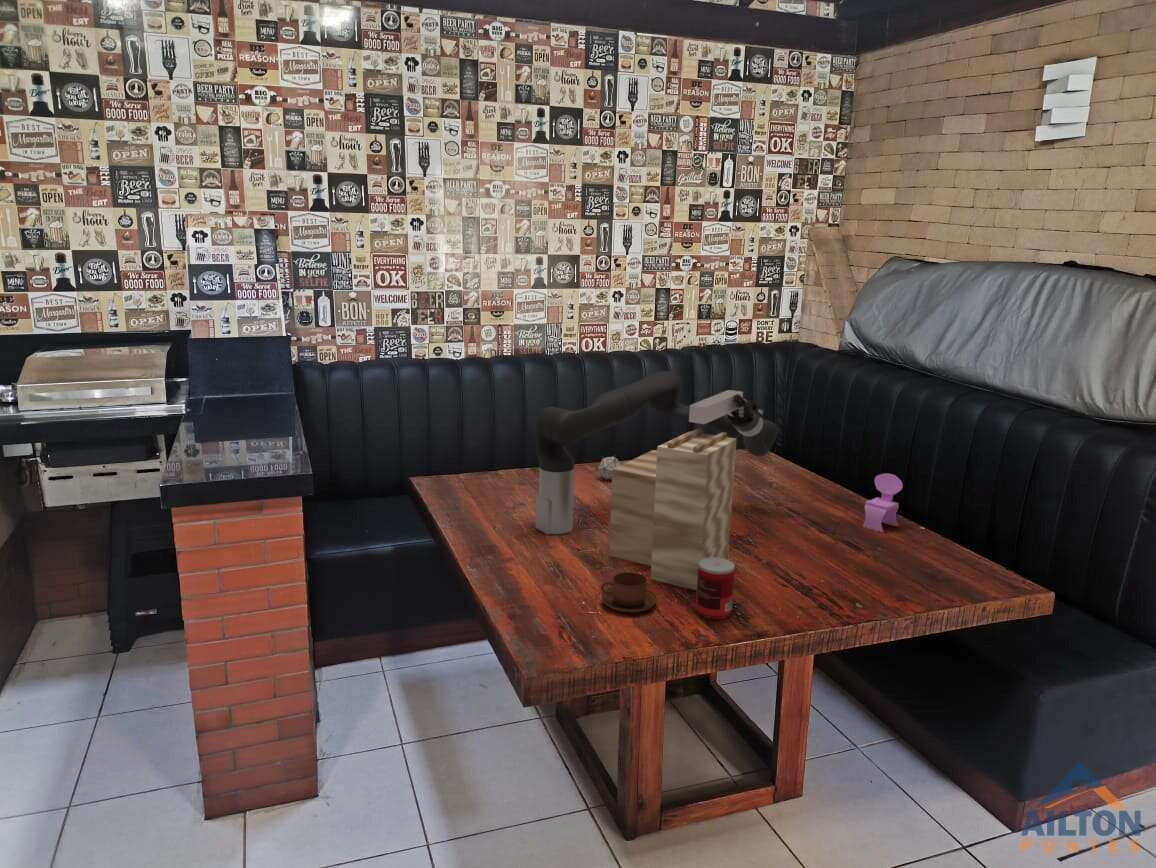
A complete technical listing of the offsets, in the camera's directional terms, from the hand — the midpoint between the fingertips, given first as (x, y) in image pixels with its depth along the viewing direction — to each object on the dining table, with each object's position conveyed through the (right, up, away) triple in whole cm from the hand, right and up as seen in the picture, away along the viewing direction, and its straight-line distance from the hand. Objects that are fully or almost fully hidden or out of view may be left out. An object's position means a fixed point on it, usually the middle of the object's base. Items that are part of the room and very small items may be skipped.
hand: (727, 396), depth 213 cm
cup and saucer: (-27, -47, -29) cm, 61 cm away
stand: (-14, -40, -2) cm, 43 cm away
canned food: (-9, -48, -31) cm, 58 cm away
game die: (-27, -25, +62) cm, 72 cm away
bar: (-4, -5, -5) cm, 7 cm away
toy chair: (+47, -36, +24) cm, 64 cm away
